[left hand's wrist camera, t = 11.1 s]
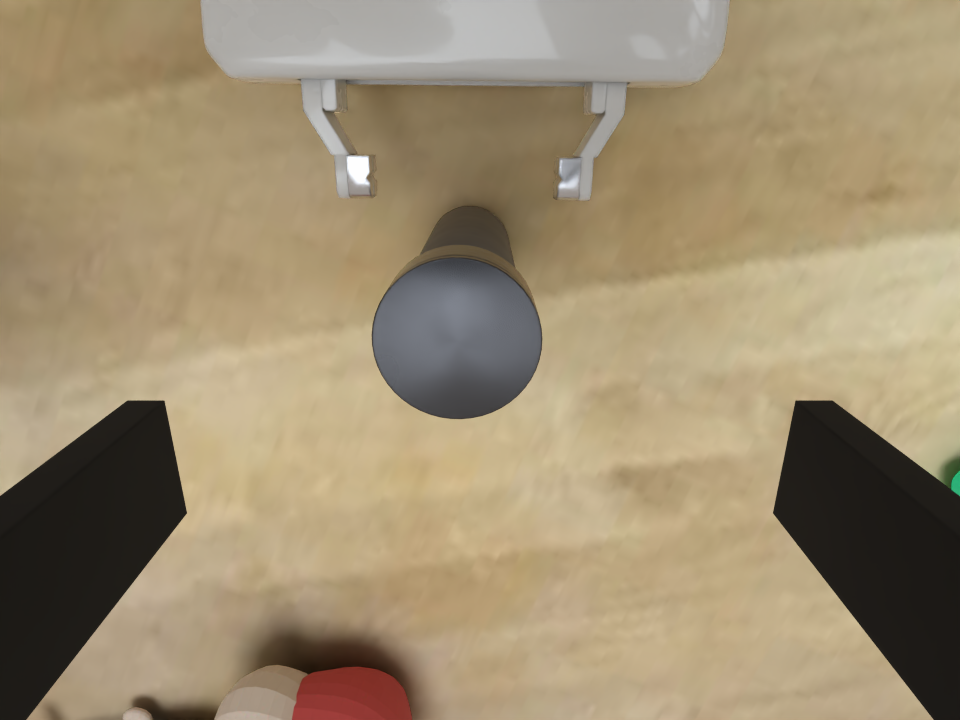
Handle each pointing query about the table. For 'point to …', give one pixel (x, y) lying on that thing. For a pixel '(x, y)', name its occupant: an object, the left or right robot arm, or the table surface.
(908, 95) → the table surface
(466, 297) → the lid
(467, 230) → the dark grey cylinder
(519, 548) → the table surface
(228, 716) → the toy
